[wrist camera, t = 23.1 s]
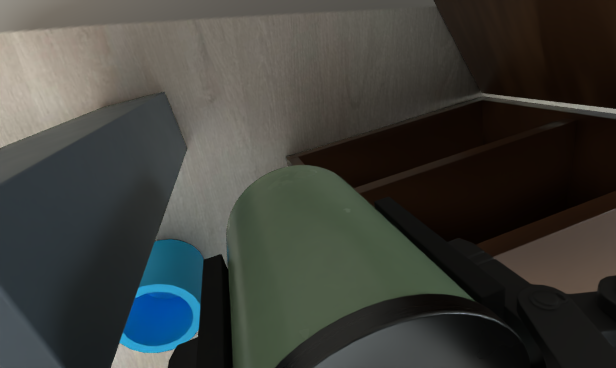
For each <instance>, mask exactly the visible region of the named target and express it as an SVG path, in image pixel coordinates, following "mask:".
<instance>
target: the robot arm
mask: <svg viewBox="0 0 616 368" xmlns="http://www.w3.org/2000/svg"><path fill="white" fill-rule="evenodd" d="M374 206H375V209H376V210H377V211H378V212H380V213H381V214H382V215H383V216H384V217H385V218H386V219H387V220H388V221H389V222H390V223H391V224H393V225H394V226H395V227H396V228H397V229H398V230H399V231H400V232H401V233H402V234H403V235H404V236H406V237H407V238H408V239H409V240H410V241H411V242H412V243H413V244H414V245H415V246H416V247H417V248H418V249H420V250H421V251H422V252H423V253H424V254H425V255H426V256H427V257H428V258H429V259H430V260H431V261H433V262H434V263H435V264H436V265H437V266H438V267H439V268H440V269H441V270H442V271H443V272H444V273H446V274H447V275H448V276H449V277H450V278H451V279H452V280H453V281H454V282H455V283H456V284H457V285H458V286H460V287H461V288H462V289H463V290H464V291H465V292H466V293H467V294H468V295H469V296H470V297H471V298H473V299H474V300H475V301H476V302H478V303H480V304H482V305H484V306H485V307H487V308H489V309H490V310H491V311H493V312H494V313H495V314H496V315H497V316H498V317H499V318H501V319H502V320H503V321H504V322H505V323H506V324H507V325H508V326H509V327H511V328H512V329H513V330H514V331H515V332H516V333H517V334H518V336H519V337H520V338H521V340H522V341H523V343H524V345H525V347H526V349H527V352H528V354H529V357H530V363H531V368H616V275H615V276H607V277H605V278H603V279H601V280H600V282H599V284H598V289H597V291H594V292H584V293H574V294H565V293H564V292H562V291H560V290H558V289H556V288H554V287H550V286H546V285H535V284H530V283H529V282H528V281H526V280H525V279H523V278H522V277H521V276H519V275H518V274H516V273H515V272H513V271H512V270H511V269H509V268H508V267H506V266H505V265H504V264H502V263H501V262H499V261H498V260H496V259H494V258H493V257H492V256H491V255H489V254H488V253H487V252H486V253H485V252H484V250H482V249H481V248H479V247H478V246H477V245H475V244H474V243H472V242H469V241H466V240H463V239H461V238H457V239H454V240H451V241H449V242H447V241H445V240H444V239H443V238H442V237H440V236H439V235H438V234H436V233H435V232H434V231H433V230H431V229H430V228H429V227H427V226H426V225H425V224H424V223H422V222H421V221H420V220H419V219H417V218H416V217H415V216H413V215H412V214H411V213H410V212H408V211H407V210H406V209H404V208H403V207H402V206H401V205H399V204H398V203H397V202H396V201H394V200H393V199H392V198H390V197H386V198H383V199H380V200H377V201H374ZM168 368H233V362H232V342H231V322H230V303H229V283H228V269H227V266H226V264H225V261H224V259H223V257H222V254H219V255H217V256H214V257H211V258H208V259H205V260H203V275H202V289H201V303H200V318H199V332H198V337H197V338H195V339H192V340H190V341H187V342H184V343H182V344H179V345H177V347H176V349H175V350H174V352H173V354H172V356H171V358H170V360H169V363H168Z"/></svg>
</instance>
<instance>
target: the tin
mask: <svg viewBox="0 0 616 368" xmlns="http://www.w3.org/2000/svg"><path fill="white" fill-rule="evenodd" d="M226 244H227V263H228V283H229V303H230V322H231V342H232V362H233V368H531V363H530V357H529V354H528V352H527V349H526V347H525V345H524V343H523V341H522V340H521V338H520V337H519V336H518V334H517V333H516V332H515V331H514V330H513V329H512V328H511V327H509V326H508V325H507V324H506V323H505V322H504V321H503V320H502V319H501V318H499V317H498V316H497V315H496V314H495V313H494V312H493V311H491V310H490V309H489V308H487V307H485V306H484V305H482V304H480V303H478V302H476V301H475V300H474V299H473V298H471V297H470V296H469V295H468V294H467V293H466V292H465V291H464V290H463V289H462V288H461V287H460V286H458V285H457V284H456V283H455V282H454V281H453V280H452V279H451V278H450V277H449V276H448V275H447V274H446V273H444V272H443V271H442V270H441V269H440V268H439V267H438V266H437V265H436V264H435V263H434V262H433V261H431V260H430V259H429V258H428V257H427V256H426V255H425V254H424V253H423V252H422V251H421V250H420V249H418V248H417V247H416V246H415V245H414V244H413V243H412V242H411V241H410V240H409V239H408V238H407V237H406V236H404V235H403V234H402V233H401V232H400V231H399V230H398V229H397V228H396V227H395V226H394V225H393V224H391V223H390V222H389V221H388V220H387V219H386V218H385V217H384V216H383V215H382V214H381V213H380V212H378V211H377V210H376V209H375V208H374V207H373V206H372V205H371V204H370V203H369V202H368V201H367V200H366V199H364V198H363V197H362V196H361V195H360V194H359V193H358V192H357V191H356V190H355V189H354V188H353V187H351V186H350V185H349V184H348V183H347V182H346V181H345V180H344V179H343V178H341V177H340V176H338V175H337V174H335V173H334V172H331V171H329V170H327V169H324V168H321V167H317V166H310V165H296V166H288V167H284V168H280V169H277V170H275V171H272V172H270V173H268V174H266V175H264V176H262V177H261V178H259V179H258V180H256V181H255V182H254V183H252V184H251V185H250V186H249V187H248V188H247V189H246V190H245V191H244V192H243V193H242V195H241V196H240V197H239V198H238V200H237V201H236V203H235V205H234V207H233V209H232V211H231V213H230V216H229V219H228V223H227V229H226Z"/></svg>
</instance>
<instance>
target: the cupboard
mask: <svg viewBox="0 0 616 368" xmlns="http://www.w3.org/2000/svg"><path fill="white" fill-rule="evenodd" d="M286 159H287V163H288V166H296V165H310V166H317V167H321V168H324V169H327V170H329V171H331V172H334V173H335V174H337V175H338V176H340V177H341V178H343V179H344V180H345V181H346V182H347V183H348V184H349V185H350V186H351V187H353V188H354V189H355V190H356V191H357V192H358V193H359V194H360V195H361V196H362V197H363V198H364V199H366V200H367V201H368V202H369V203H370V204H371V205H372V206H373V207H374V208H375V206H374V201H377V200H380V199H383V198H386V197H390V198H392V199H393V200H394V201H396V202H397V203H398V204H399V205H401V206H402V207H403V208H404V209H406V210H407V211H408V212H410V213H411V214H412V215H413V216H415V217H416V218H417V219H419V220H420V221H421V222H422V223H424V224H425V225H426V226H427V227H429V228H430V229H431V230H433V231H434V232H435V233H436V234H438V235H439V236H440V237H442V238H443V239H444V240H445V241H447V242H449V241H451V240H454V239H457V238H461V239H463V240H466V241H469V242H472V243H474V244H475V245H477V246H478V247H479V248H481V249H482V250H484V252H485V253H486V252H487V253H488V254H489V255H491V256H492V257H493V258H494V259H496V260H498V261H499V262H501V263H502V264H504V265H505V266H506V267H508V268H509V269H511V270H512V271H513V272H515V273H516V274H518V275H519V276H521V277H522V278H523V279H525V280H526V281H528V282H529V283H530V284H535V285H546V286H550V287H554V288H556V289H558V290H560V291H562V292H564V293H565V294H574V293H584V292H594V291H597V289H598V284H599V282H600V280H601V279H603V278H605V277H607V276H615V275H616V114H613V113H605V112H597V111H590V110H582V109H574V108H567V107H559V106H551V105H544V104H536V103H529V102H521V101H513V100H506V99H498V98H490V97H480V98H477V99H474V100H470V101H467V102H464V103H461V104H457V105H454V106H451V107H448V108H444V109H441V110H438V111H434V112H431V113H428V114H425V115H421V116H418V117H415V118H412V119H408V120H405V121H402V122H398V123H395V124H392V125H389V126H385V127H382V128H379V129H376V130H372V131H369V132H366V133H363V134H359V135H356V136H353V137H349V138H346V139H343V140H340V141H336V142H333V143H330V144H327V145H323V146H320V147H317V148H313V149H310V150H307V151H304V152H300V153H297V154H294V155H291V156H287V157H286Z"/></svg>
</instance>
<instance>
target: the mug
mask: <svg viewBox="0 0 616 368" xmlns="http://www.w3.org/2000/svg"><path fill="white" fill-rule="evenodd" d="M203 260H204V259H203V257H202V255H201V253H200V252H199V251H198V250H197V249H196V248H195V247H193V246H192V245H190V244H188V243H186V242H183V241H180V240H173V239H166V240H159V241H155V242H154V245H153V248H152V251H151V254H150V256H149V259H148V262H147V265H146V268H145V271H144V274H143V277H142V279H141V282H140V285H139V288H138V291H137V294H136V297H135V299H134V302H133V305H132V308H131V311H130V314H129V317H128V319H127V322H126V325H125V328H124V331H123V334H122V337H121V339H120V342H119V343H121V344H123V345H124V346H126V347H128V348H129V349H132V350H136V351H139V352H143V353H159V352H164V351H169V350H173V349H175V348H176V347H177V345H179V344H182V343H184V342H187V341H189V340H190V339H191V338H192V337H194V335H195V334H196V332H197V331H198V329H199V318H200V303H201V289H202V275H203Z"/></svg>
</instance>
